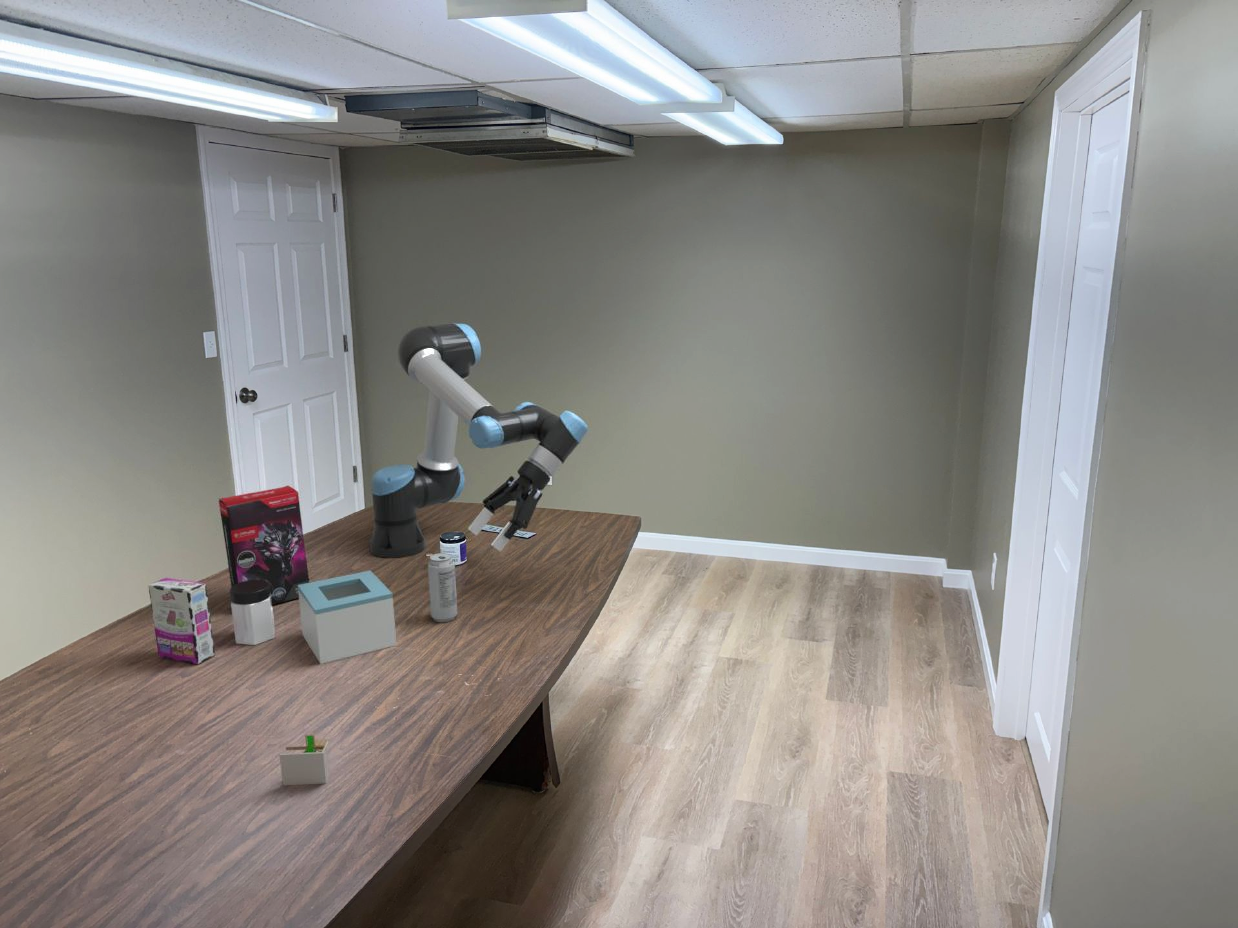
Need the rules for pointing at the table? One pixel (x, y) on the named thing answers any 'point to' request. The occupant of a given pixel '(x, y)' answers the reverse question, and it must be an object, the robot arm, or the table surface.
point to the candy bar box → (182, 620)
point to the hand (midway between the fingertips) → (483, 540)
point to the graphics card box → (266, 540)
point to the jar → (252, 612)
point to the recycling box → (347, 616)
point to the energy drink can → (442, 587)
